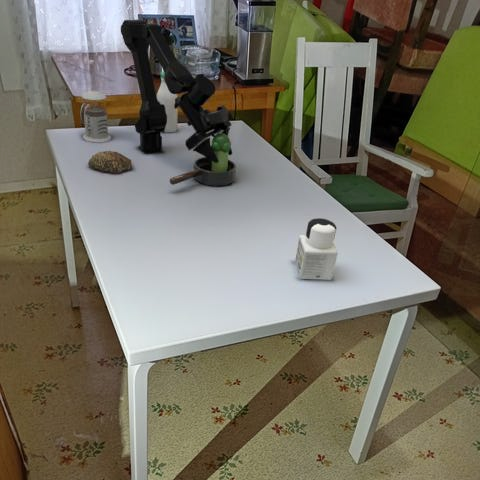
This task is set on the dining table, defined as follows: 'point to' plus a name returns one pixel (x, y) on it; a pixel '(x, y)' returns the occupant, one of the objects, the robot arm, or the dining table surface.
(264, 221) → the dining table surface
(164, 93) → the milk bottle
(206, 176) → the pan
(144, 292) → the dining table surface
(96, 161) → the bread roll
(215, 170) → the broccoli
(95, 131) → the french press
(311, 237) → the container
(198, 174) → the pan handle
